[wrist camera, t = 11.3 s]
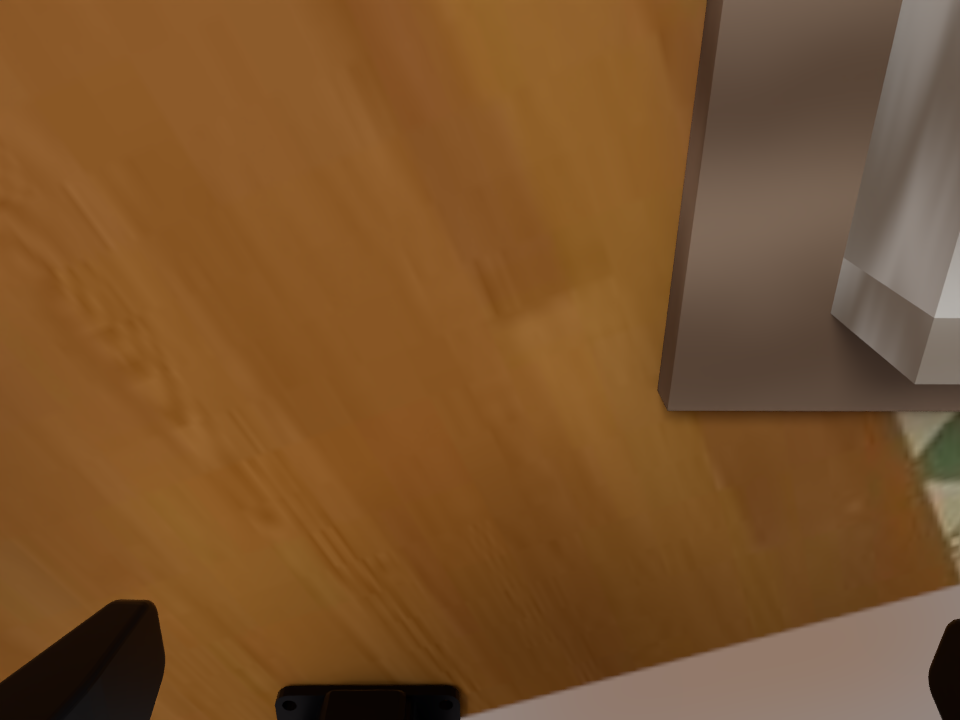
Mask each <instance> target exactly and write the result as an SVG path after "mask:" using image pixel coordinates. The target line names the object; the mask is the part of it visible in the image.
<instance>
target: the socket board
mask: <svg viewBox="0 0 960 720" xmlns="http://www.w3.org/2000/svg"><path fill="white" fill-rule="evenodd" d="M658 392H659V394H660V396H661V398H662V400H663V402H664V404H665V406H666V408H667V411H960V0H707V7H706V15H705V22H704V30H703V38H702V46H701V54H700V62H699V69H698V77H697V85H696V93H695V101H694V109H693V117H692V124H691V132H690V140H689V148H688V156H687V164H686V171H685V179H684V187H683V195H682V203H681V211H680V218H679V226H678V234H677V242H676V250H675V258H674V265H673V273H672V281H671V289H670V297H669V305H668V312H667V320H666V328H665V336H664V344H663V352H662V360H661V367H660V375H659V383H658Z"/></svg>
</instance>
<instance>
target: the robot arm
mask: <svg viewBox="0 0 960 720" xmlns="http://www.w3.org/2000/svg"><path fill="white" fill-rule="evenodd" d="M164 668H165V652H164V646H163V640H162V635H161V629H160V623H159V618H158V612H157V609H156V606H155V605H154V603H153V602H151V601H149V600H123V599H120V600H115V601H113V602H111V603H109V604H108V605H106V606H105V607H103V608H102V609H101V610H99V611H98V612H96V613H95V614H94V615H92V616H91V617H90V618H88V619H87V620H86V621H84V622H83V623H81V624H80V625H79V626H77V627H76V628H75V629H73V630H72V631H70V632H69V633H68V634H66V635H65V636H64V637H62V638H61V639H60V640H58V641H57V642H55V643H54V644H53V645H51V646H50V647H49V648H47V649H46V650H44V651H43V652H42V653H40V654H39V655H38V656H36V657H35V658H33V659H32V660H31V661H29V662H28V663H27V664H25V665H24V666H23V667H21V668H20V669H18V670H17V671H16V672H14V673H13V674H12V675H10V676H9V677H7V678H6V679H5V680H3V681H2V682H1V683H0V720H150V717H151V714H152V711H153V708H154V704H155V701H156V698H157V695H158V691H159V688H160V685H161V681H162V678H163V674H164ZM928 678H929V687H930V690H931V694H932V697H933V699H934V701H935V704H936V706H937V708H938V711H939V713H940V715H941V718H942V720H960V619H956V620H953V621H952V622H950V623H949V624H948V625H947V627H946V629H945V631H944V634H943V636H942V639H941V641H940V644H939V646H938V649H937V651H936V654H935V656H934V659H933V661H932V663H931V666H930V669H929V676H928ZM445 700H447V701H445ZM275 708H276V714H277V720H460V693H459V691H458V690H457V689H456V688H454V687H452V686H288V687H284V688H282V689H281V690H280V691H279V692H278V695H277V699H276V703H275Z"/></svg>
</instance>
